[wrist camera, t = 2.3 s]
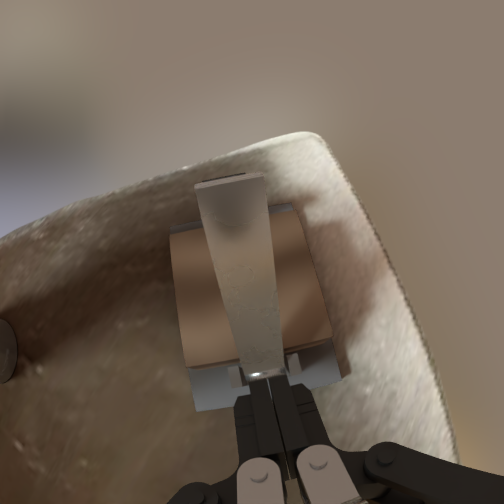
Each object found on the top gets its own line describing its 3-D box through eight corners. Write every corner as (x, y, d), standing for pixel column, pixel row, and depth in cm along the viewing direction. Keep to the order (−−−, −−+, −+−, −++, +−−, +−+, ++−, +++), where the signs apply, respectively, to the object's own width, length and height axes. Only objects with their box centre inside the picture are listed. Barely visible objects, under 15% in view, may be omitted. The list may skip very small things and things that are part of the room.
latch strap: (282, 365, 23) (286, 377, 22) (244, 373, 22) (247, 385, 22) (260, 169, 14) (265, 178, 13) (194, 181, 13) (194, 192, 12)
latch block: (338, 380, 28) (366, 378, 20) (199, 410, 27) (175, 419, 19) (290, 209, 36) (296, 160, 28) (173, 232, 35) (150, 189, 27)
